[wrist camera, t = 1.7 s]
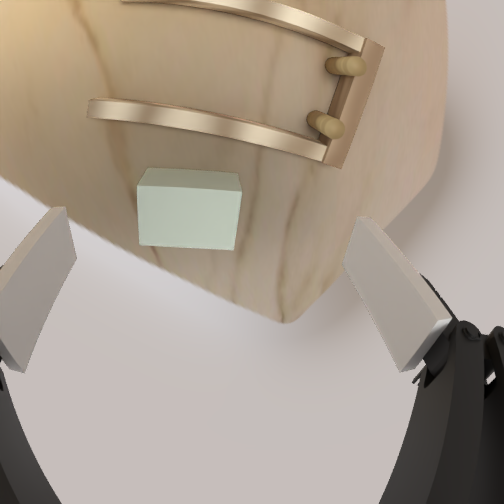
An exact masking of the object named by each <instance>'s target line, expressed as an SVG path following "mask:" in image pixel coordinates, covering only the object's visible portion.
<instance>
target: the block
mask: <svg viewBox="0 0 504 504" xmlns="http://www.w3.org/2000/svg"><path fill="white" fill-rule="evenodd" d="M241 197H242V189H241V185H240V181H239V177H238V173H231V172H220V171H206V170H191V169H172V168H147V170H146V171H145V173H144V175H143V176H142V178H141V180H140V181H139V183H138V185H137V208H138V230H139V245H146V246H165V247H183V248H202V249H220V250H234V244H235V237H236V231H237V224H238V217H239V211H240V204H241Z"/></svg>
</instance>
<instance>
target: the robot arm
mask: <svg viewBox="0 0 504 504" xmlns="http://www.w3.org/2000/svg"><path fill="white" fill-rule="evenodd" d="M76 259H77V257H76V253H75V248H74V244H73V240H72V236H71V231H70V226H69V222H68V216H67V211H66V207H52V208H51V209H50V210H49V211H48V212H47V213H46V214H45V215H44V216H43V218H42V219H41V220H40V221H39V222H38V223H37V225H36V226H35V227H34V228H33V229H32V230H31V231H30V232H29V234H28V235H27V236H26V237H25V238H24V240H23V241H22V242H21V243H20V245H19V246H18V247H17V248H16V250H15V251H14V252H13V253H12V255H11V256H10V257H9V259H8V260H7V261H6V263H5V264H4V265H3V266H1V267H0V362H1V360H3V361H4V362H5V364H6V365H7V366H8V368H9V369H11V370H14V371H18V372H22V373H25V371H26V368H27V365H28V363H29V360H30V357H31V355H32V352H33V349H34V347H35V344H36V342H37V339H38V337H39V335H40V332H41V330H42V327H43V325H44V323H45V321H46V319H47V316H48V314H49V312H50V310H51V308H52V306H53V303H54V301H55V299H56V297H57V295H58V293H59V291H60V289H61V287H62V285H63V283H64V281H65V279H66V278H67V276H68V274H69V272H70V270H71V268H72V266H73V265H74V263H75V261H76ZM342 266H343V267H344V269H345V271H346V273H347V274H348V276H349V277H350V279H351V281H352V283H353V284H354V286H355V288H356V290H357V292H358V294H359V295H360V297H361V299H362V301H363V303H364V304H365V306H366V308H367V310H368V312H369V313H370V315H371V317H372V319H373V321H374V323H375V325H376V327H377V328H378V330H379V332H380V334H381V336H382V338H383V340H384V342H385V344H386V346H387V348H388V350H389V351H390V354H391V356H392V358H393V360H394V362H395V364H396V366H397V368H398V370H399V372H404V371H408V370H412V369H415V368H416V366H417V365H418V364H419V363H420V361H421V360H422V359H423V360H424V361H425V363H426V365H425V366H424V368H423V369H422V370H421V371H420V372H419V374H418V375H417V376H416V377H415V378H414V380H413V381H412V383H413V384H414V383H415V382H416V381H417V380H418V379H419V378H420V382H419V383H418V386H419V387H418V391H417V395H416V399H415V403H414V407H413V411H412V415H411V418H410V421H409V425H408V428H407V431H406V435H405V438H404V441H403V444H402V447H401V450H400V453H399V456H398V459H397V461H396V464H395V466H394V469H393V472H392V474H391V477H390V479H389V482H388V484H387V486H386V489H385V491H384V493H383V495H382V498H381V500H380V502H379V504H504V328H503V327H500V326H496V327H495V328H494V329H493V330H492V332H491V333H490V334H489V335H484V334H481V333H480V331H479V329H478V328H477V327H476V326H475V325H473V324H472V323H470V322H467V321H460V322H459V321H458V319H457V318H456V317H455V315H454V314H453V312H452V311H451V310H450V308H449V307H448V305H447V304H446V303H445V301H444V300H443V299H442V298H440V295H439V293H438V292H437V291H435V288H434V287H433V286H432V285H431V283H430V282H429V281H428V280H427V279H426V278H425V277H424V276H422V275H421V274H419V273H418V271H417V270H416V269H415V268H414V267H413V265H412V264H411V263H410V262H409V261H408V259H407V258H406V257H405V256H404V254H403V253H402V252H401V251H400V250H399V248H398V247H397V246H396V245H395V244H394V243H393V242H392V240H391V239H390V238H389V237H388V236H387V235H386V234H385V232H384V231H383V230H382V229H381V228H380V227H379V226H378V225H377V224H376V223H375V221H374V220H373V219H372V218H371V217H361V216H357V219H356V222H355V225H354V228H353V232H352V235H351V238H350V241H349V244H348V247H347V250H346V253H345V256H344V259H343V262H342ZM493 372H495V376H496V378H495V379H494V380H493V381H492V382H491V383H490V384H487V380H486V379H487V378H488V377H489V376H490V375H491V374H492V373H493ZM0 504H61V502H60V500H59V499H58V497H57V496H56V494H55V492H54V491H53V489H52V487H51V486H50V484H49V482H48V481H47V479H46V477H45V476H44V473H43V472H42V470H41V468H40V466H39V464H38V462H37V460H36V458H35V456H34V454H33V452H32V450H31V448H30V445H29V443H28V441H27V439H26V436H25V434H24V432H23V429H22V427H21V424H20V422H19V419H18V416H17V414H16V411H15V409H14V406H13V403H12V400H11V397H10V394H9V391H8V387H7V384H6V381H5V377H4V373H3V371H2V369H1V368H0Z"/></svg>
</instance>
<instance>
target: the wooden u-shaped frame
mask: <svg viewBox="0 0 504 504" xmlns="http://www.w3.org/2000/svg"><path fill="white" fill-rule="evenodd" d="M121 1H123V2H152V3H166V4H176V5H185V6H192V7H199V8H205V9H211V10H217V11H222V12H227V13H232V14H236V15H240V16H245V17H249V18H253V19H256V20H260V21H264V22H267V23H271V24H274V25H277V26H280V27H284V28H287V29H290V30H293V31H296V32H298V33H301V34H304V35H307V36H309V37H312V38H315V39H317V40H320V41H322V42H325V43H327V44H330V45H332V46H334V47H337V48H339V49H341V50H343V51H346V52H348V56H347V57H331V58H329V59H328V60H327V61H326V63H325V67H326V69H327V71H328V72H329V73H331V74H338V75H341V76H340V79H339V82H338V85H337V88H336V91H335V94H334V97H333V100H332V103H331V105H330V108H329V111H328V114H324V113H322V112H320V111H312V112H310V113H309V114H308V116H307V122H308V124H309V125H310V126H311V127H313V128H314V129H316V130H318V131H319V132H321V134H320V137H319V139H318V140H316V139H313V138H310V137H307V136H304V135H300V134H297V133H294V132H290V131H287V130H283V129H280V128H276V127H273V126H269V125H265V124H261V123H257V122H253V121H249V120H245V119H241V118H237V117H232V116H228V115H223V114H218V113H213V112H208V111H203V110H198V109H192V108H187V107H181V106H174V105H168V104H161V103H153V102H145V101H136V100H127V99H115V98H102V97H98V98H95V99H91V100H89V104H88V111H87V117H89V118H102V119H114V120H123V121H132V122H141V123H148V124H156V125H162V126H169V127H175V128H181V129H187V130H193V131H199V132H204V133H209V134H214V135H219V136H224V137H229V138H233V139H238V140H242V141H246V142H251V143H255V144H259V145H263V146H267V147H271V148H275V149H279V150H282V151H286V152H290V153H293V154H297V155H300V156H304V157H307V158H311V159H314V160H317V161H321V162H322V163H324V164H327V165H330V166H333V167H336V168H339V169H341V168H342V166H343V163H344V161H345V158H346V156H347V153H348V151H349V148H350V145H351V143H352V140H353V138H354V135H355V132H356V130H357V127H358V124H359V122H360V119H361V116H362V113H363V111H364V108H365V105H366V102H367V99H368V97H369V94H370V91H371V88H372V85H373V82H374V79H375V76H376V73H377V70H378V67H379V64H380V61H381V58H382V55H383V52H384V49H385V47H383V46H381V45H379V44H377V43H376V42H374V41H372V40H370V39H368V38H363V37H361V36H359V35H357V34H355V33H353V32H351V31H349V30H347V29H344V28H342V27H340V26H338V25H336V24H333V23H331V22H329V21H326V20H324V19H321V18H319V17H316V16H314V15H311V14H309V13H306V12H303V11H301V10H298V9H295V8H292V7H289V6H286V5H283V4H280V3H276V2H273V1H270V0H121Z"/></svg>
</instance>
